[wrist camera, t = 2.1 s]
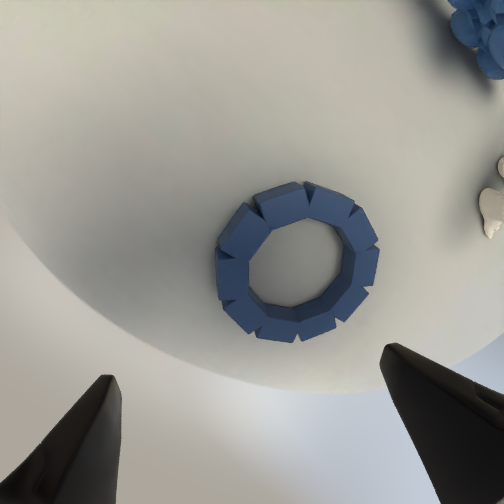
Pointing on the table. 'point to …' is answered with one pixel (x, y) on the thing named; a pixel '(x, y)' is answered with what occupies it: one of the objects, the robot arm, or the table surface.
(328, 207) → the ring
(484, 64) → the grapes
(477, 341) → the table surface
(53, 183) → the table surface
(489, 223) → the toy creature
